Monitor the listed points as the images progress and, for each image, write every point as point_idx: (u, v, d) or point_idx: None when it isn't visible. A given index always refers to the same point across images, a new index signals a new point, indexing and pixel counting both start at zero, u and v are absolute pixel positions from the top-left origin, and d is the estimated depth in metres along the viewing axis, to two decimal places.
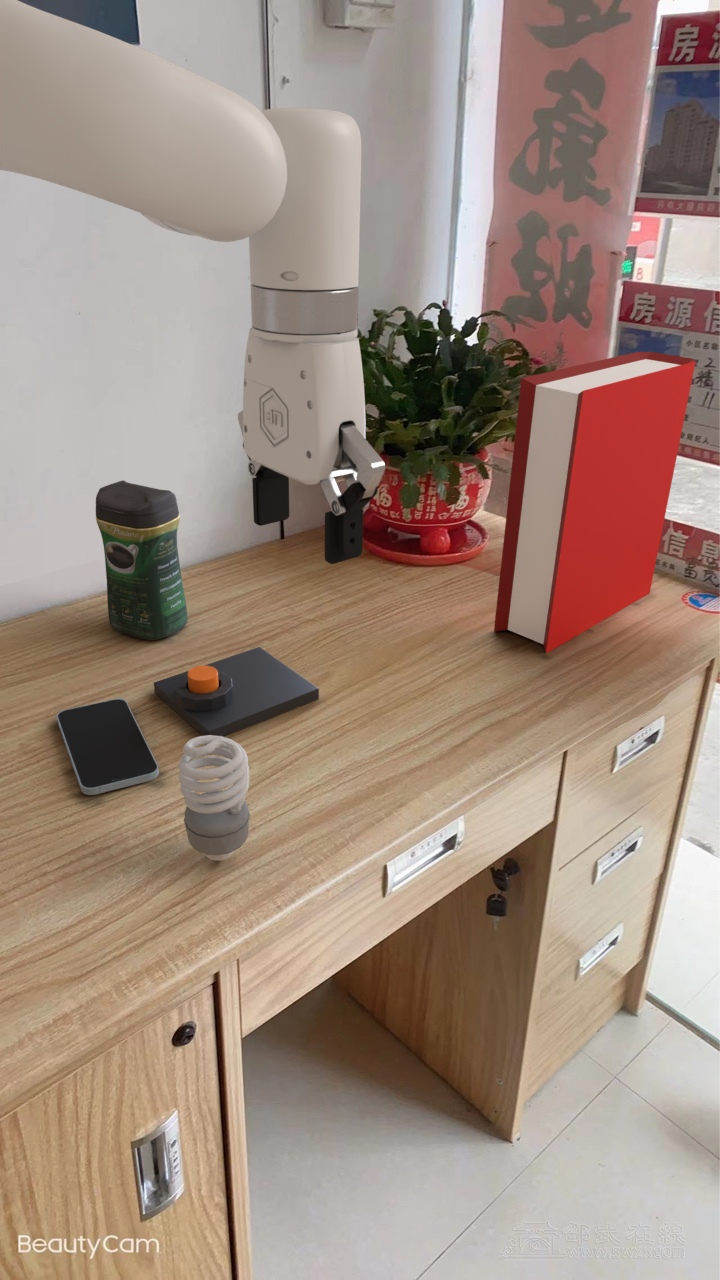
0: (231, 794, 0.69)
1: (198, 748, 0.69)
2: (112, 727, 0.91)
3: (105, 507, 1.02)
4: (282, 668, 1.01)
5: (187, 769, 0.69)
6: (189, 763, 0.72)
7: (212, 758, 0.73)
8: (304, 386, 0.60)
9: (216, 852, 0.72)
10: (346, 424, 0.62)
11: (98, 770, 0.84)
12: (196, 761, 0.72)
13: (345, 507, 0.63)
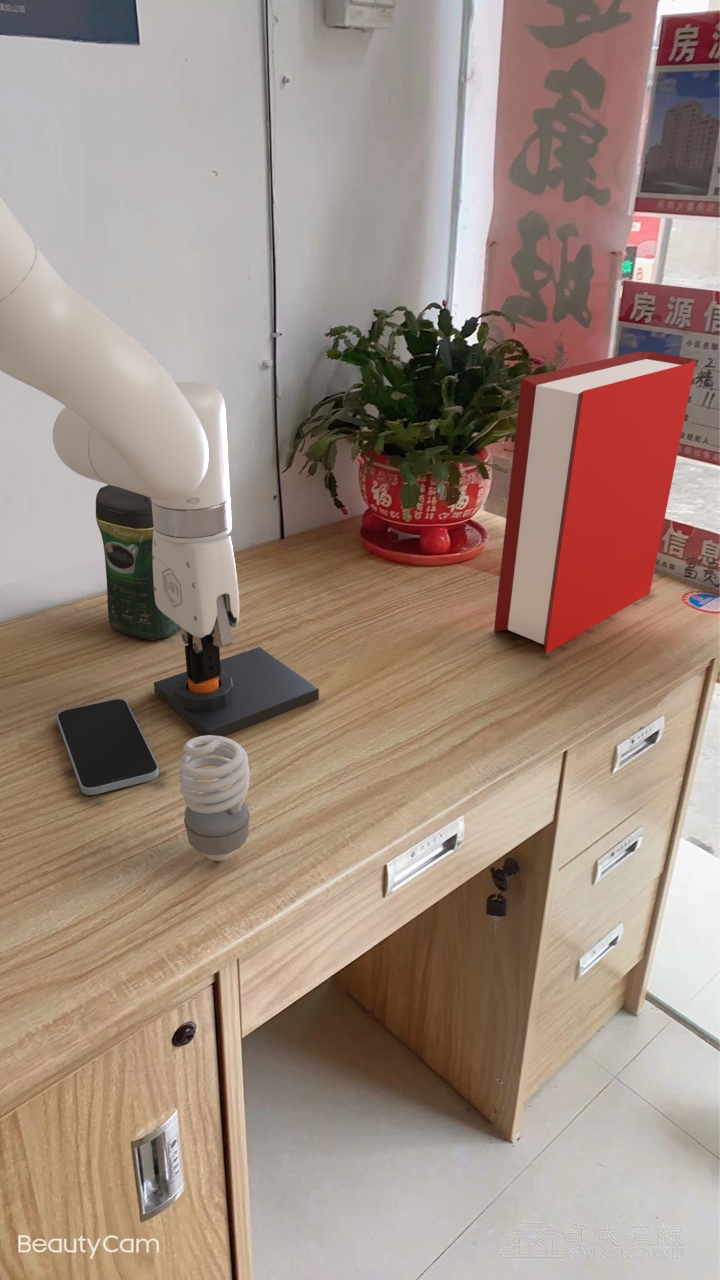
0: (231, 794, 0.69)
1: (198, 748, 0.69)
2: (112, 727, 0.91)
3: (105, 507, 1.02)
4: (282, 668, 1.01)
5: (187, 769, 0.69)
6: (189, 763, 0.72)
7: (212, 758, 0.73)
8: (189, 572, 0.84)
9: (216, 852, 0.72)
10: (220, 603, 0.87)
11: (98, 770, 0.84)
12: (196, 761, 0.72)
13: (202, 647, 0.91)
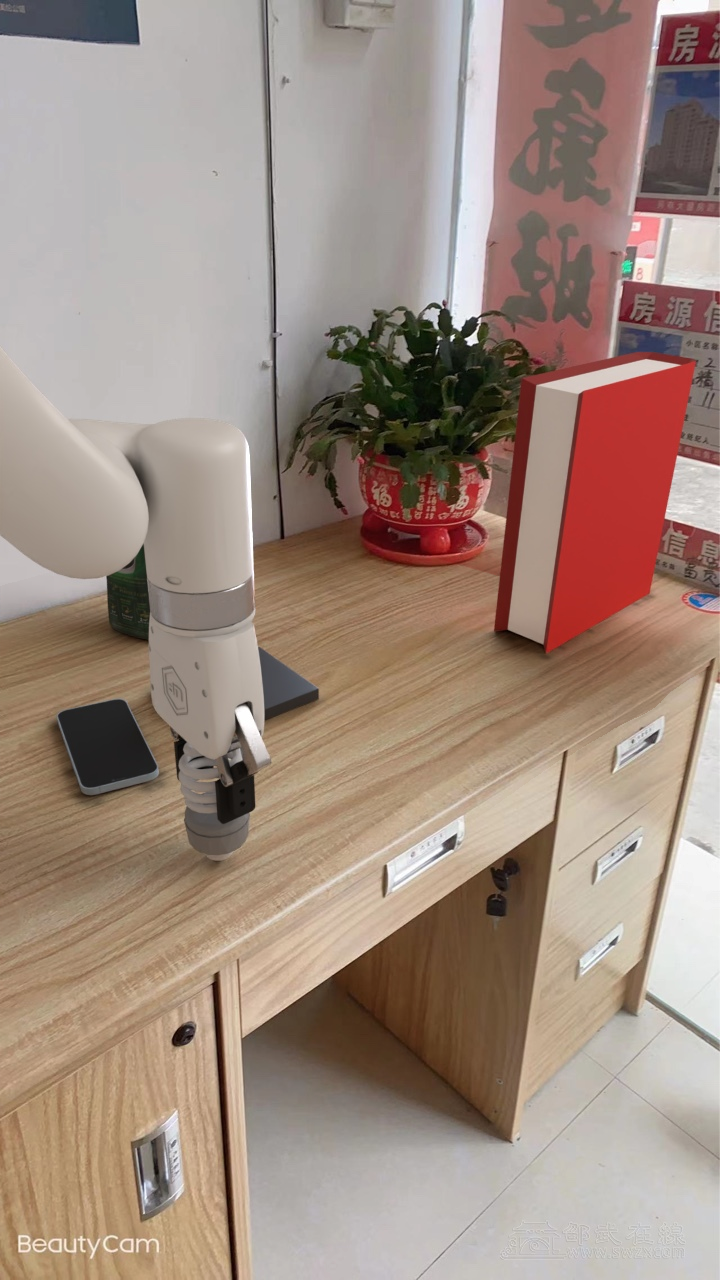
0: None
1: None
2: (112, 727, 0.91)
3: None
4: (282, 668, 1.01)
5: (187, 769, 0.69)
6: (189, 763, 0.72)
7: None
8: (198, 675, 0.62)
9: (216, 852, 0.72)
10: (242, 709, 0.64)
11: (98, 770, 0.84)
12: (196, 761, 0.72)
13: (232, 780, 0.66)
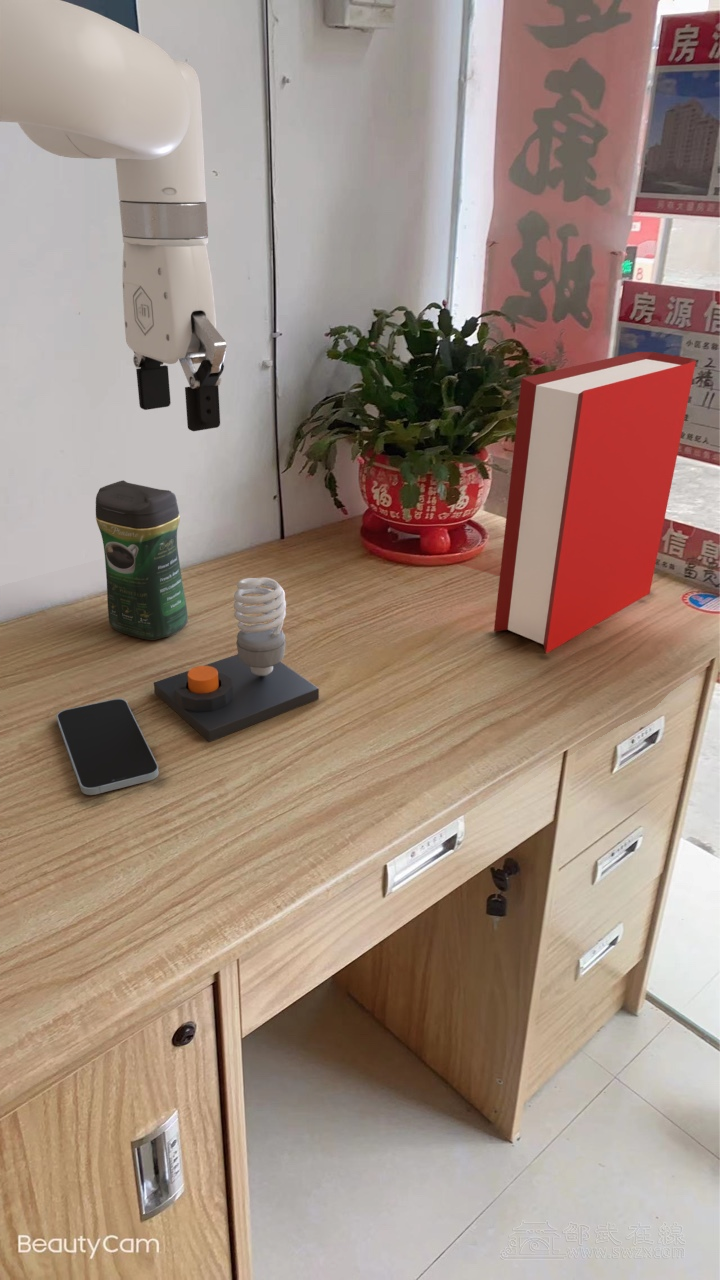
0: (273, 616, 0.94)
1: (249, 582, 0.94)
2: (112, 727, 0.91)
3: (105, 507, 1.02)
4: (282, 668, 1.01)
5: (241, 597, 0.93)
6: None
7: None
8: (160, 280, 0.76)
9: (261, 665, 0.96)
10: (197, 313, 0.78)
11: (98, 770, 0.84)
12: None
13: (199, 381, 0.79)
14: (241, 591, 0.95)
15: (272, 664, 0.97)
